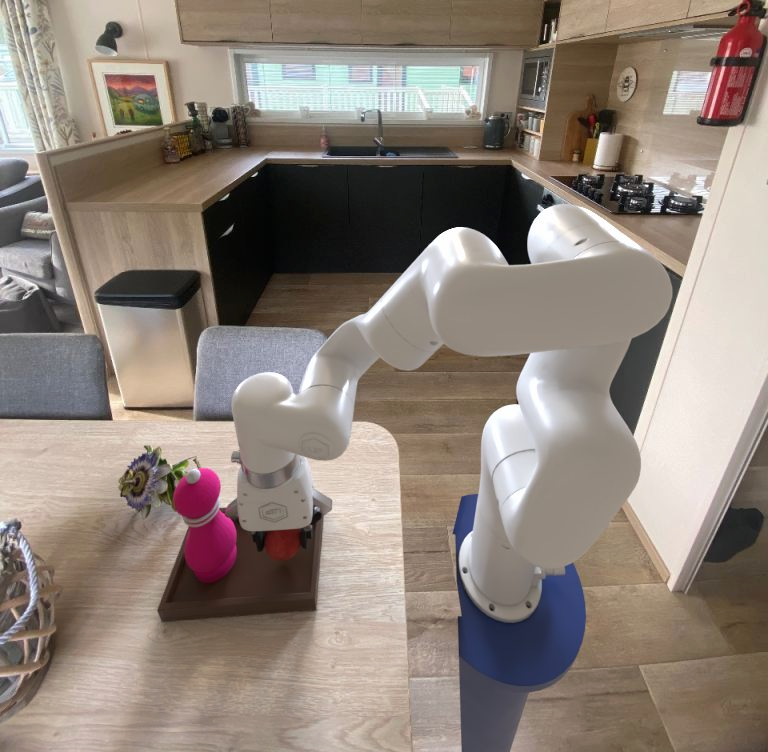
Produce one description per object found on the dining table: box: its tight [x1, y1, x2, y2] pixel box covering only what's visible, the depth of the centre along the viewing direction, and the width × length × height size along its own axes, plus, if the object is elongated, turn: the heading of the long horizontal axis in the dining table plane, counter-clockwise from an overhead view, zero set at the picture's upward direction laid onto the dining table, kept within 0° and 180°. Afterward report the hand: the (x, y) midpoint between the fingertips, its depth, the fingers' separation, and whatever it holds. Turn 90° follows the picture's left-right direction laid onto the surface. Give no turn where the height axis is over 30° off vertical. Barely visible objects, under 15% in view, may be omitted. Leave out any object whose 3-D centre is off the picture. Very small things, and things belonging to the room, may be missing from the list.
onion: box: [264, 528, 302, 561], centre depth 59 cm, size 6×6×8 cm
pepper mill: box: [173, 467, 237, 583], centre depth 57 cm, size 7×7×20 cm
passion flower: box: [117, 444, 202, 520], centre depth 70 cm, size 11×11×12 cm
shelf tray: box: [156, 505, 325, 623], centre depth 61 cm, size 22×14×3 cm, turn 94°
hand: (284, 539), depth 60 cm, fingers closed on onion, 5 cm apart
